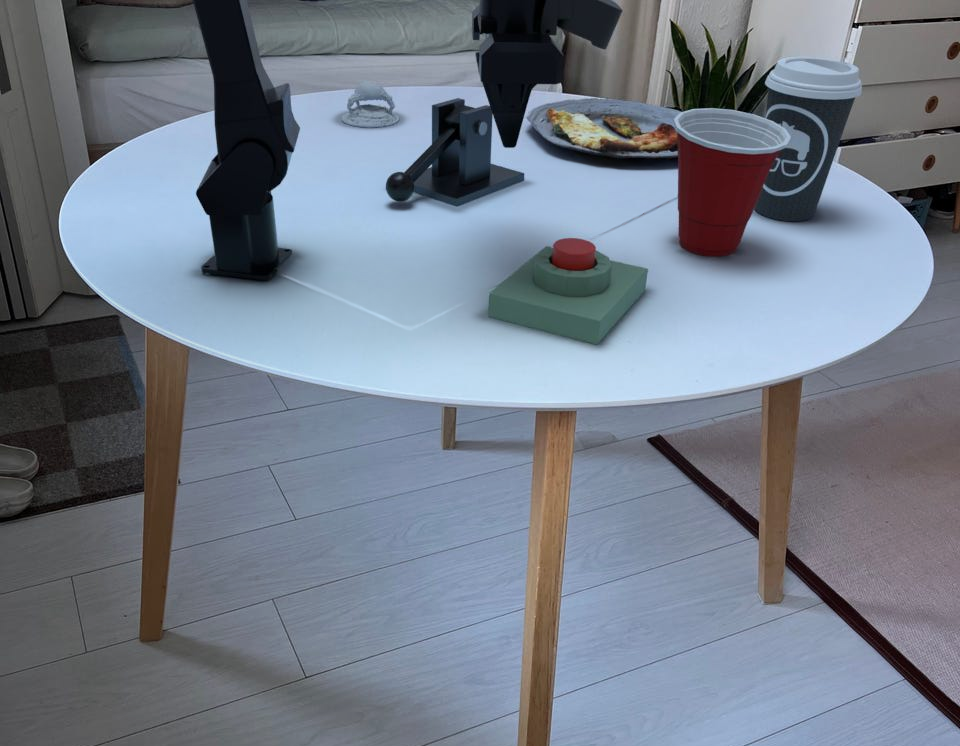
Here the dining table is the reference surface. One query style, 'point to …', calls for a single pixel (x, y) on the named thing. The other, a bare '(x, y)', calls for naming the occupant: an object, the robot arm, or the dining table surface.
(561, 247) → the button
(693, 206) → the plastic cup
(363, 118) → the miniature
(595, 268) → the button block
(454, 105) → the lever bracket
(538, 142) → the dining table surface
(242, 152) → the robot arm
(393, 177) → the control lever
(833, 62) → the coffee cup
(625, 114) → the food plate
